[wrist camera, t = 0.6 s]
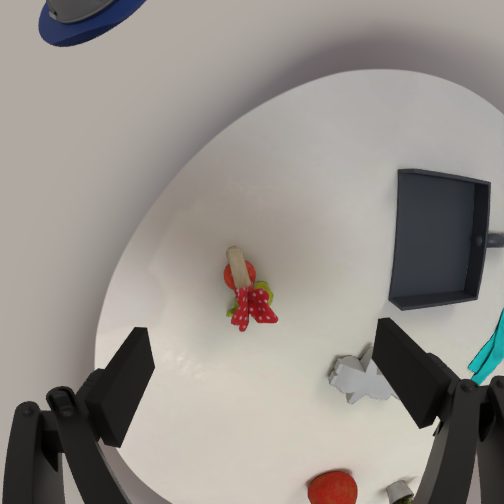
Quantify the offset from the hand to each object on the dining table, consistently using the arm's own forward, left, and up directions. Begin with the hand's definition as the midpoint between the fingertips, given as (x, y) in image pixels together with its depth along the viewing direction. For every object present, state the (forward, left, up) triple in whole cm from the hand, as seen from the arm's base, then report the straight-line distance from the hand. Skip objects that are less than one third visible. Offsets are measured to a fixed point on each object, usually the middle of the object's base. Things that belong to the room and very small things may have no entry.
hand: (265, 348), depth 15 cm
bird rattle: (+2, -1, -21) cm, 21 cm away
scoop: (-3, +32, -21) cm, 39 cm away
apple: (+51, +17, -21) cm, 58 cm away
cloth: (+18, +53, -21) cm, 60 cm away
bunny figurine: (+18, +19, -21) cm, 33 cm away
